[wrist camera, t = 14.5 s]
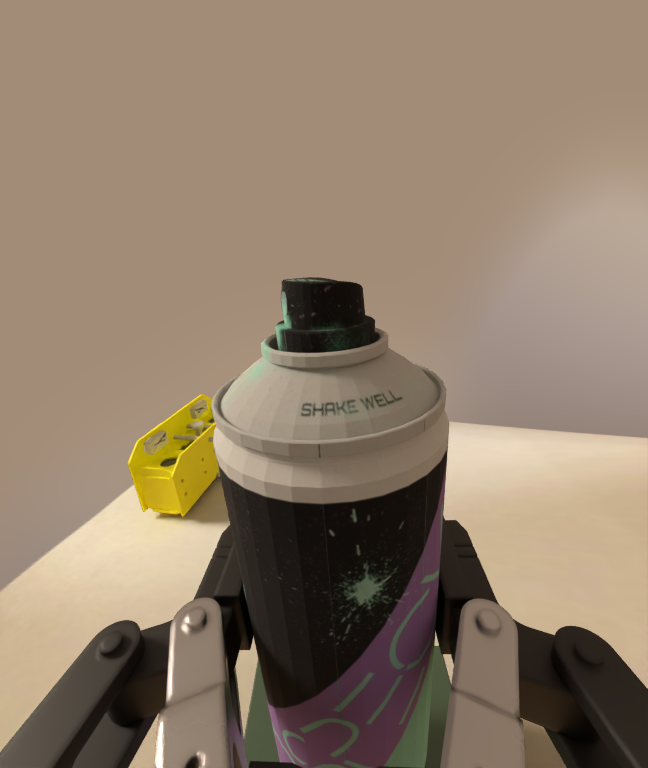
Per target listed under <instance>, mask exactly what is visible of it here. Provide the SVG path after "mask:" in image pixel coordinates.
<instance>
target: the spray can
mask: <svg viewBox="0 0 648 768" xmlns="http://www.w3.org/2000/svg"><path fill="white" fill-rule="evenodd" d="M281 305H282V311H283V315H284V320H283V321H281V322H279V323H278V324H277V325H276V327H275V329H276V334H274V335H272V336H270V337H268V338H266V339H265V340H264V341H263V342H262V344H261V349H262V355H263V357H261V358H260V359H259V360H258V361H256V362H255V363H254V364H253V365H252V366H250V367H249V368H248V369H247V370H246V371H245V372H244V373H242V374H240V375H238V376H237V377H235V378H233V379H232V380H230V381H229V382H227V383H226V384H225V385H224V386H222V387H221V388H220V389H219V390H218V392H217V393H216V395H215V396H214V398H213V401H212V407H211V408H212V413H213V418H214V420H215V423H216V428H215V430H214V437H213V443H214V448H215V453H216V457H217V462H218V467H219V472H220V477H221V481H222V486H223V491H224V496H225V501H226V505H227V510H228V515H229V520H230V525H231V529H232V534H233V539H234V544H235V549H236V553H237V558H238V563H239V568H240V572H241V577H242V582H243V587H244V592H245V596H246V601H247V606H248V611H249V616H250V620H251V625H252V630H253V635H254V640H255V644H256V649H257V654H258V659H259V664H260V668H261V673H262V678H263V683H264V688H265V692H266V697H267V702H268V707H269V711H270V716H271V721H272V726H273V731H274V735H275V740H276V745H277V750H278V755H279V759H280V762H291V763H294V764H296V765H298V766H301V767H303V768H376V767H379V766H388V767H412V768H426V761H427V746H428V731H429V716H430V702H431V687H432V672H433V657H434V642H435V628H436V613H437V598H438V583H439V568H440V554H441V539H442V524H443V509H444V494H445V480H446V465H447V450H448V435H449V420H448V418H447V415H446V412H445V411H444V408H445V400H446V388H445V386H444V383H443V381H442V380H441V379H440V378H439V377H438V376H437V375H436V374H435V373H434V372H432V371H430V370H429V369H427V368H425V367H423V366H421V365H418V364H416V363H413V362H410V361H409V360H407V359H406V358H404V357H403V356H401V355H399V354H398V353H396V352H394V351H393V350H391V349H389V348H388V335H387V333H386V332H384V331H382V330H380V329H378V328H375V320H374V319H373V318H372V317H369V316H366V315H365V309H364V298H363V288H362V286H361V285H359V284H357V283H353V282H344V281H336V280H331V279H326V278H312V277H311V278H297V279H287V280H283V281H282V291H281Z"/></svg>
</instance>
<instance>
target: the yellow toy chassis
mask: <svg viewBox="0 0 648 768" xmlns="http://www.w3.org/2000/svg"><path fill="white" fill-rule="evenodd" d="M198 400H200V401H199V402H198V403H197V401H198ZM196 403H197V404H196ZM211 407H212V399H211V398H209V397H207V396H205V395H203V394H201V395H200V396H198V397H197V398H195V399H194V400H193V401H191V402H190V403H188V404H187V405H186V406H184V407H183V408H182V409H180V410H179V411H178V412H176V413H175V414H173V415H172V416H171V417H169V418H168V419H166V420H165V421H164V422H162V423H161V424H160V425H158V426H157V427H155V428H154V429H153V430H151V431H150V432H149V433H147V434H146V435H144V436H143V437H142V438H140V439H139V440H138V441H137V442H136V444H135V447H134V449H133V451H132V454H131V456H130V459H129V461H128V467H129V470H130V473H131V476H132V479H133V482H134V485H135V488H136V491H137V494H138V497H139V501H140V504H141V507H142V510H143V512H145V511H146V510H147V509H148V508H150V509H152V510H153V511H155V512H160V513H168V514H176V515H177V514H179V513H181V516H182V517H183V516H184V515H185V514H186V513H187V512H188V510H189V509H190V508H191V507H192V506H193V504H194V503H195V502H196V501H197V500H198V498H199V497H200V496H201V495H202V494H203V492H204V491H205V490H206V489H207V488H208V486H209V485H210V484H211V483H212V482H213V480H214V479H215V478H216V477H220V472H219V467H218V462H217V457H216V453H215V448H214V443H213V437H214V430H215V428H216V423H215V420H214V418H213V413H212V408H211ZM149 437H151V438H150V439H149V440H148V441H146V439H147V438H149ZM145 441H146V442H145ZM144 446H145V450H146V453H147V454H146V453H145V451H144Z"/></svg>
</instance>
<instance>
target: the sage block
mask: <svg viewBox="0 0 648 768" xmlns="http://www.w3.org/2000/svg"><path fill="white" fill-rule="evenodd" d="M450 690H451V683H450V679H449V675H448V672H447V668H446V664H445V661H444V657H443V654H441V652H440V647H439V646H434V657H433V672H432V687H431V702H430V716H429V731H428V746H427V761H426V768H440V765H441V758H442V750H443V743H444V735H445V727H446V720H447V712H448V704H449V697H450ZM244 747H245V753H246V758H247V764H248V768H249V763H250V761H266V762H280V759H279V755H278V750H277V745H276V740H275V735H274V731H273V726H272V721H271V716H270V711H269V707H268V702H267V697H266V692H265V688H264V683H263V678H262V673H261V668H260V664H259V659H258V663H257V668H256V674H255V679H254V685H253V691H252V696H251V702H250V707H249V713H248V719H247V724H246V730H245V735H244Z"/></svg>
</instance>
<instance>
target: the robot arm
mask: <svg viewBox="0 0 648 768" xmlns="http://www.w3.org/2000/svg"><path fill="white" fill-rule="evenodd" d="M435 630H436V635H437V639H438V643H439V647H440V652H441V654H451V656H452V659H453V663H454V669H453V677H452V685H451V690H450V697H449V704H448V712H447V720H446V727H445V735H444V743H443V750H442V758H441V765H440V768H525V747H524V727H523V721H522V719H520V718H523V719H525V720H528V721H530V722H533V723H535V724H538V725H540V726H543V727H544V728H545V730H546V732H547V733H548V735H549V737H550V739H551V740H552V742H553V744H554V746H555V748H556V749H557V751H558V753H559V755H560V756H561V758H562V760H563V762H564V763H565V765H566V767H567V768H648V689H647V688H646V687H645V685H644V684H643V683H642V682H641V681H640V680H639V678H638V677H637V676H636V675H635V674H634V673H633V671H632V670H631V669H630V668H629V667H628V666H627V664H626V663H625V662H624V661H623V660H622V658H621V657H620V656H619V655H618V654H617V653H616V651H615V650H614V649H613V648H612V647H611V646H610V645H609V644H608V643H607V642H606V641H605V640H603V639H602V638H601V637H599V636H598V635H596V634H594V633H593V632H591V631H589V630H587V629H584V628H581V627H576V626H565V627H562V628H560V629H559V630H558V631H557V632H556V634H555V635H552V634H549V633H545V632H542V631H539V630H536V629H533V628H530V627H527V626H524V625H522V624H520V623H519V622H517V621H515V620H514V619H513V618H512V617H511V615H510V614H509V613H508V612H507V611H506V610H505V609H504V608H502V607H501V606H500V605H499V604H498V602H497V600H496V598H495V596H494V593H493V591H492V589H491V586H490V584H489V582H488V579H487V577H486V575H485V572H484V570H483V568H482V565H481V563H480V561H479V558H478V557H477V554H476V551H475V549H474V547H473V544H472V542H471V540H470V537H469V535H468V533H467V531H466V530H465V529H464V528H463V527H462V526H461V525H460V524H459V523H458V522H457V521H456V520H445V519H444V516H443V524H442V539H441V554H440V568H439V583H438V598H437V613H436V628H435ZM252 640H253V630H252V625H251V620H250V616H249V611H248V606H247V601H246V596H245V592H244V587H243V582H242V577H241V572H240V568H239V563H238V558H237V553H236V549H235V544H234V539H233V534H232V529H231V525H230V526H229V527H228V528H227V529H226V530H225V531H224V532H223V533H222V535H221V537H220V540H219V542H218V544H217V548H216V549H215V551H214V554H213V557H212V559H211V561H210V563H209V565H208V568H207V570H206V572H205V575H204V577H203V579H202V582H201V584H200V586H199V589H198V591H197V593H196V596H195V598H194V600H193V601H191V602H189V603H187V604H186V605H184V606H183V607H182V608H181V609H180V610H179V611H178V612H177V614H176V615H175V617H174V619H173V620H171V621H169V622H166V623H164V624H160V625H157V626H154V627H151V628H148V629H145V630H141V631H140V628H139V626H138V625H137V623H135V622H133V621H129V620H124V621H119V622H116V623H114V624H112V625H109V626H108V627H106V628H105V629H103V630H102V631H101V632H100V633H98V634H97V635H96V636H95V637H94V638H93V640H92V641H91V642H90V643H89V644H88V646H87V647H86V648H85V649H84V650H83V652H82V653H81V654H80V655H79V657H78V658H77V659H76V660H75V661H74V663H73V664H72V665H71V666H70V668H69V669H68V670H67V671H66V672H65V674H64V675H63V676H62V677H61V679H60V680H59V681H58V682H57V684H56V685H55V686H54V687H53V688H52V690H51V691H50V692H49V693H48V695H47V696H46V697H45V698H44V699H43V701H42V702H41V703H40V704H39V706H38V707H37V708H36V709H35V710H34V712H33V713H32V714H31V715H30V717H29V718H28V719H27V720H26V721H25V723H24V724H23V725H22V726H21V728H20V729H19V730H18V731H17V732H16V734H15V735H14V736H13V737H12V739H11V740H10V741H9V742H8V743H7V745H6V746H5V747H4V748H3V750H2V751H1V752H0V768H128V767H129V765H130V763H131V762H132V760H133V758H134V756H135V754H136V752H137V751H138V749H139V747H140V745H141V743H142V742H143V740H144V738H145V736H146V734H147V732H148V731H149V729H150V727H151V725H152V723H153V722H154V720H155V718H156V716H157V714H158V713H159V717H158V724H157V737H156V751H155V765H154V768H248V764H247V758H246V753H245V747H244V739H243V730H242V721H241V712H240V702H239V693H238V684H237V675H236V668H235V665H236V661H237V657H238V653H239V650H250V648H251V644H252ZM249 768H303V767H301V766H298V765H296V764H294V763H291V762H266V761H250V763H249ZM376 768H412V767H388V766H379V767H376Z"/></svg>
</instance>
